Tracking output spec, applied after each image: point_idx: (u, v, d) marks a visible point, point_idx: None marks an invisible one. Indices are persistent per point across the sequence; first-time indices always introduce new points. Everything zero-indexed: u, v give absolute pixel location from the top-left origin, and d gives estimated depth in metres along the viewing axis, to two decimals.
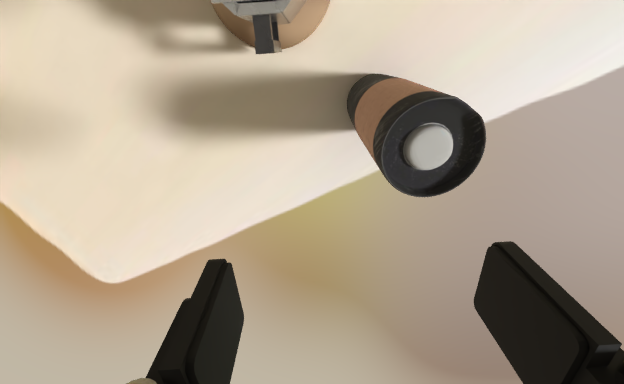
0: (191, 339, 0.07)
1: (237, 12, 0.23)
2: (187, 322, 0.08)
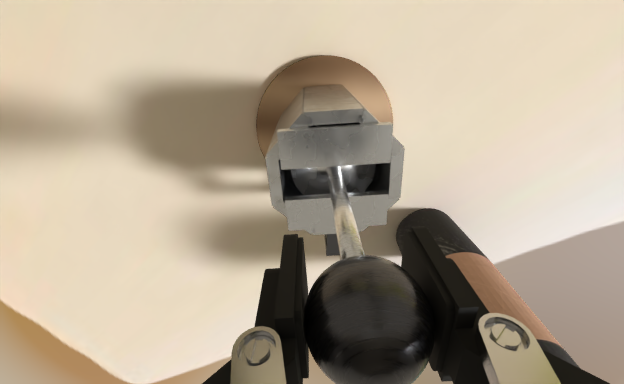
0: (294, 296, 0.08)
1: (313, 232, 0.21)
2: (285, 283, 0.09)
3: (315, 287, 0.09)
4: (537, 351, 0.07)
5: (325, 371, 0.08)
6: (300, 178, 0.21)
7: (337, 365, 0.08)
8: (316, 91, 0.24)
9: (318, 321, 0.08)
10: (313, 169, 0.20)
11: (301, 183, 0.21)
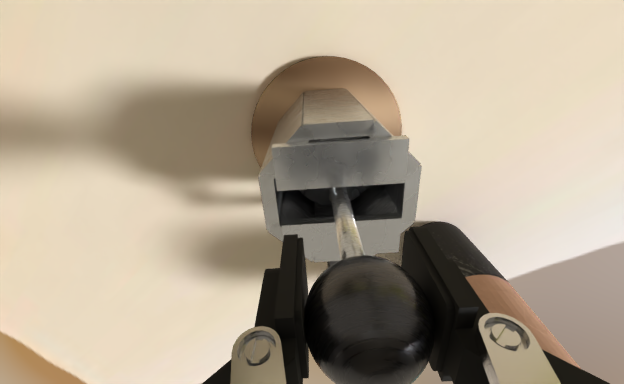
0: (294, 296, 0.08)
1: (315, 259, 0.18)
2: (285, 283, 0.09)
3: (315, 287, 0.09)
4: (537, 351, 0.07)
5: (325, 371, 0.08)
6: None
7: (338, 365, 0.08)
8: (317, 96, 0.22)
9: (318, 321, 0.08)
10: None
11: None
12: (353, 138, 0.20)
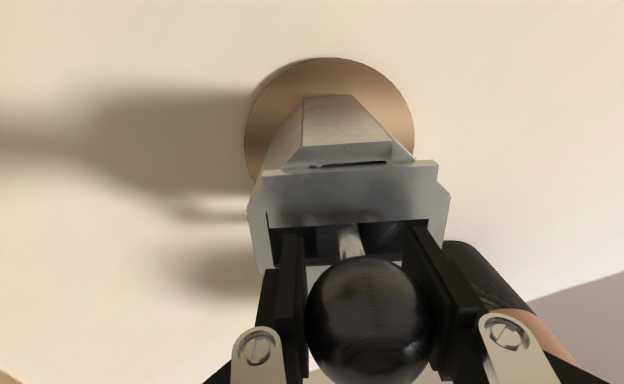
0: (294, 296, 0.08)
1: None
2: (285, 283, 0.09)
3: (315, 287, 0.09)
4: (537, 351, 0.07)
5: (325, 371, 0.08)
6: None
7: (338, 366, 0.08)
8: (319, 105, 0.19)
9: (318, 321, 0.08)
10: None
11: None
12: None
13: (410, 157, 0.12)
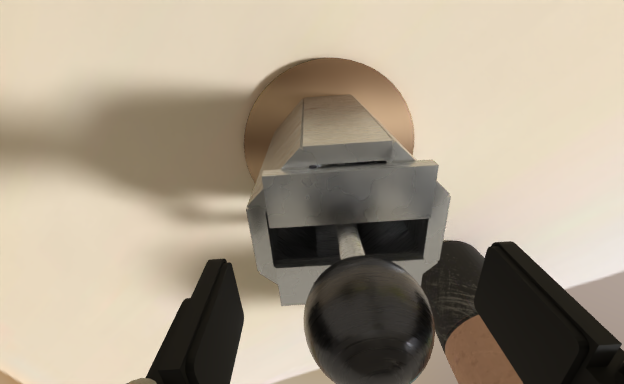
0: (191, 339, 0.07)
1: None
2: (187, 322, 0.08)
3: (315, 287, 0.09)
4: None
5: (325, 371, 0.08)
6: None
7: (337, 365, 0.08)
8: (319, 105, 0.19)
9: (318, 320, 0.08)
10: None
11: None
12: None
13: (410, 157, 0.12)
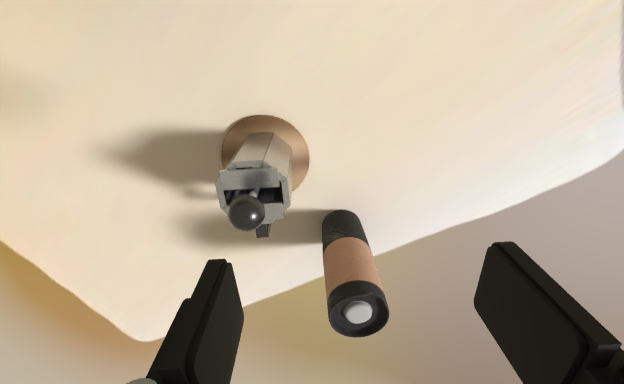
0: (191, 339, 0.07)
1: None
2: (187, 322, 0.08)
3: (231, 203, 0.31)
4: None
5: (231, 223, 0.30)
6: None
7: (233, 219, 0.30)
8: (253, 140, 0.41)
9: (229, 209, 0.30)
10: None
11: None
12: None
13: (270, 165, 0.34)
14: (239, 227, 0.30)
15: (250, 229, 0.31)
